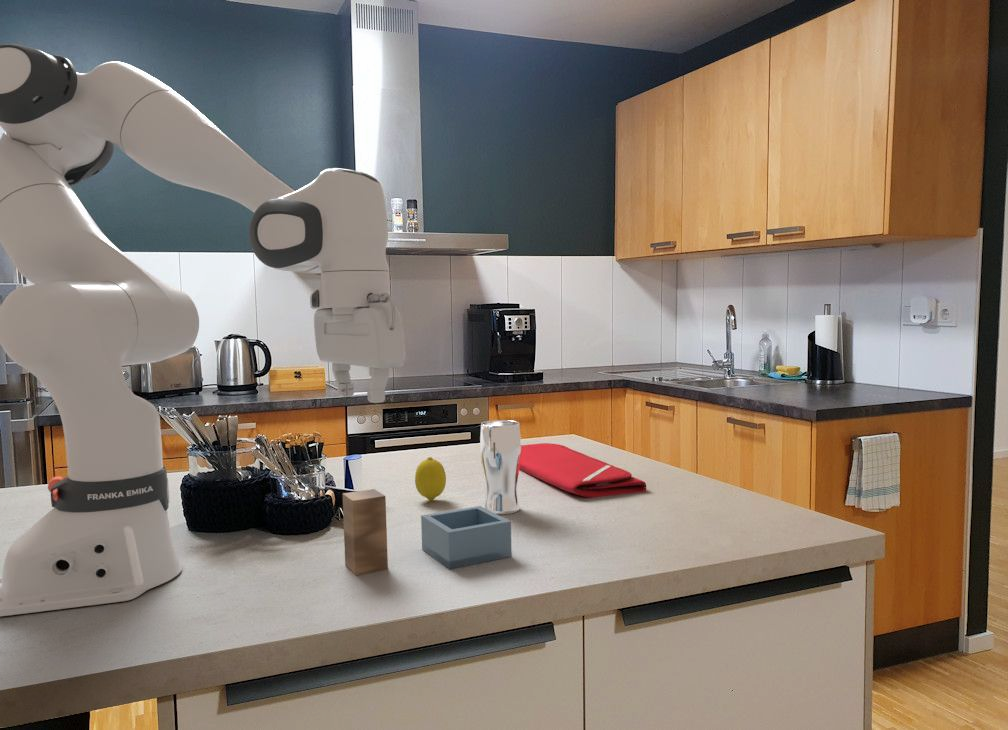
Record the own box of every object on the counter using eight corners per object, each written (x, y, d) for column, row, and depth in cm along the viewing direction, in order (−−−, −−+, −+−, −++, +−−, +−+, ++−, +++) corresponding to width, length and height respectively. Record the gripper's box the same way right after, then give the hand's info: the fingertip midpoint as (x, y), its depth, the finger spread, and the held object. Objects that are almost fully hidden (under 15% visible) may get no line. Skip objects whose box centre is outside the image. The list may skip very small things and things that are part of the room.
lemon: (441, 505, 133) (440, 460, 132) (411, 504, 134) (410, 459, 133) (450, 497, 138) (448, 454, 138) (421, 496, 139) (419, 453, 139)
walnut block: (355, 575, 99) (352, 500, 99) (345, 565, 103) (342, 493, 103) (387, 569, 102) (385, 495, 101) (376, 559, 105) (374, 489, 105)
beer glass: (508, 517, 125) (506, 427, 123) (473, 512, 128) (471, 424, 127) (529, 507, 130) (528, 421, 129) (495, 502, 134) (493, 418, 133)
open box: (449, 569, 101) (448, 532, 100) (422, 549, 109) (421, 515, 109) (511, 556, 105) (510, 521, 105) (480, 538, 114) (480, 505, 113)
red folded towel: (558, 453, 178) (558, 438, 178) (649, 494, 140) (649, 474, 140) (495, 459, 173) (495, 443, 173) (572, 503, 135) (571, 482, 134)
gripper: (416, 292, 93) (419, 404, 94) (346, 296, 109) (350, 391, 111) (369, 292, 89) (373, 409, 90) (304, 296, 106) (309, 394, 107)
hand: (360, 399), depth 101 cm, fingers open, 8 cm apart
